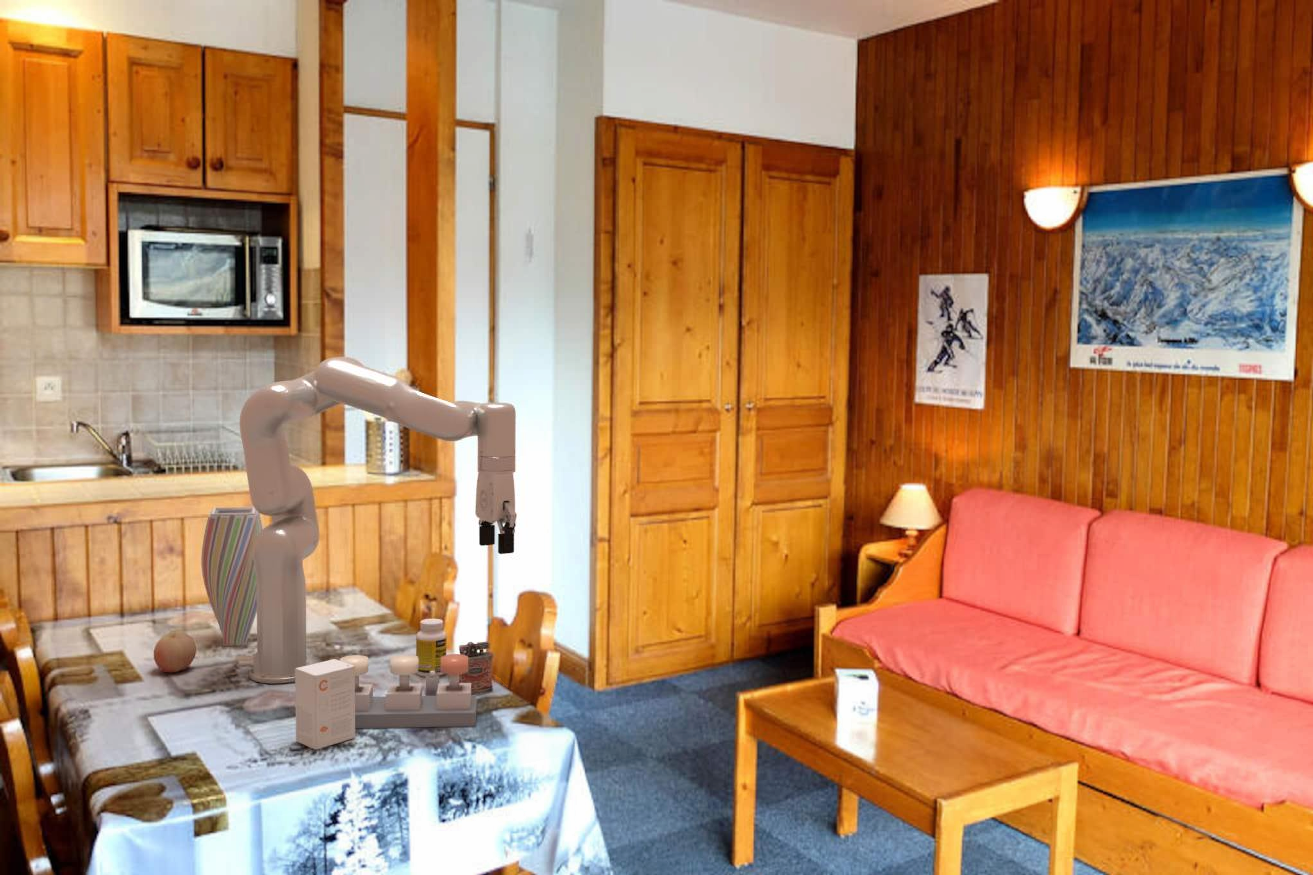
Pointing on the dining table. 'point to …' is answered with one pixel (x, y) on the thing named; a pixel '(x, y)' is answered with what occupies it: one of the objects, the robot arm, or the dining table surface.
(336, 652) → the dining table surface
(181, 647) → the fruit
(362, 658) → the knob near
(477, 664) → the lighter
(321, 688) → the small box
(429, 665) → the pill bottle
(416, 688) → the mount board
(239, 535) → the vase
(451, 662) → the knob far
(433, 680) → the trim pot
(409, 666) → the knob mid
